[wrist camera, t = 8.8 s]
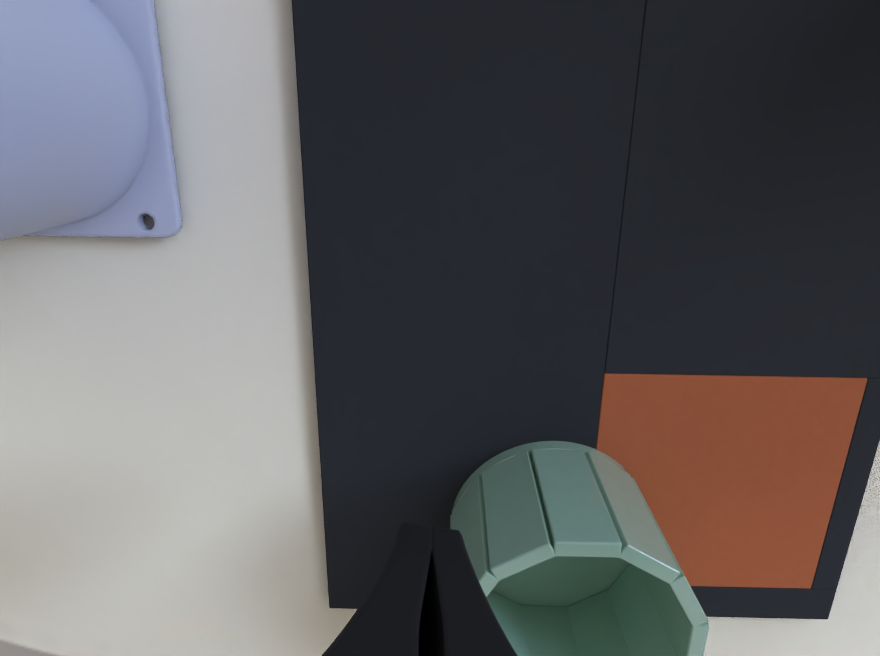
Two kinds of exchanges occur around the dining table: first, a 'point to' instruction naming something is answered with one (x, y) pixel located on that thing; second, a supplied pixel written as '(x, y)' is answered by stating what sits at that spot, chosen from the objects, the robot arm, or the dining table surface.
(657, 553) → the cup
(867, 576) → the dining table surface
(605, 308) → the mat
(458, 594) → the robot arm
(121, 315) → the dining table surface
